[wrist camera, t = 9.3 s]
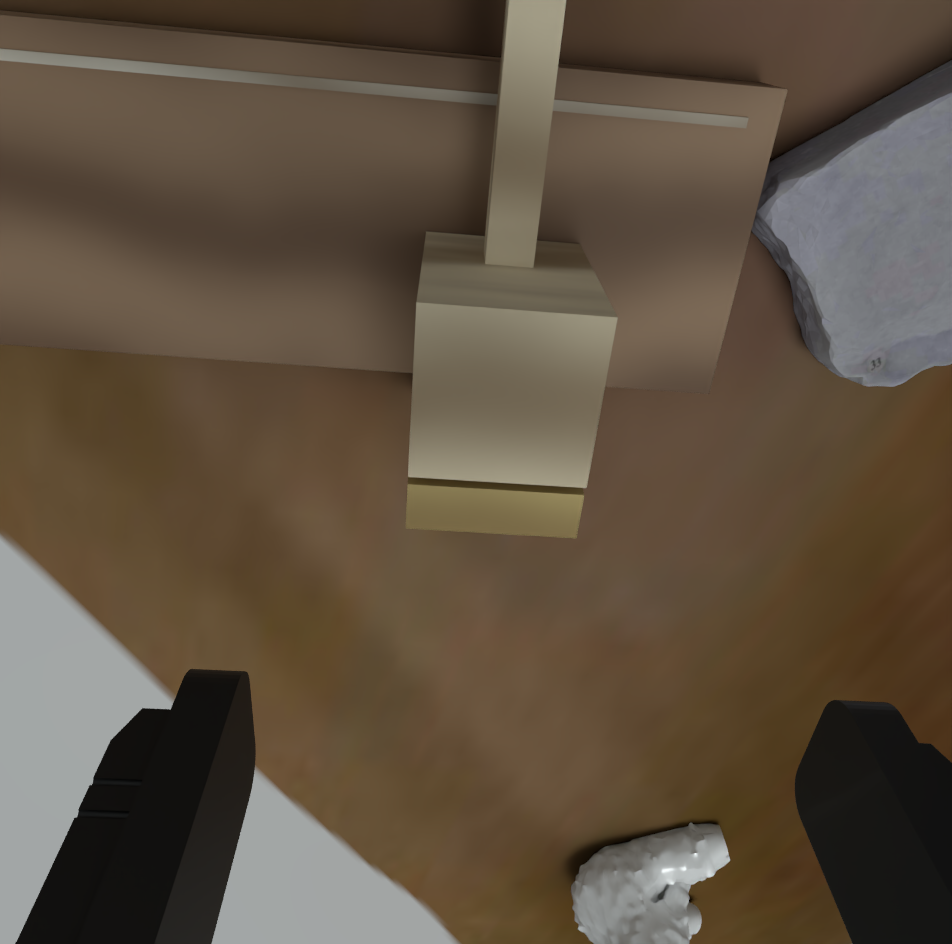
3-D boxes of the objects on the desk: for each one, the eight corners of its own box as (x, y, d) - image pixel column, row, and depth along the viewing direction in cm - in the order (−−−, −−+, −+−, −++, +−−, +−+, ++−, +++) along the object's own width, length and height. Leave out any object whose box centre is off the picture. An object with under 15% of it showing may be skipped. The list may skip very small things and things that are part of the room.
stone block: (1094, 216, 30) (1084, -51, 24) (1191, 276, 26) (1209, -19, 20) (791, 363, 33) (716, 161, 27) (842, 434, 30) (767, 221, 24)
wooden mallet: (443, -64, 23) (435, -98, 15) (611, -46, 23) (689, -72, 16) (418, 395, 31) (405, 530, 23) (546, 404, 31) (576, 540, 23)
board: (-140, -3, 24) (-199, -4, 22) (761, 82, 26) (788, 89, 23) (-56, 313, 29) (-97, 338, 27) (692, 367, 31) (709, 395, 28)
